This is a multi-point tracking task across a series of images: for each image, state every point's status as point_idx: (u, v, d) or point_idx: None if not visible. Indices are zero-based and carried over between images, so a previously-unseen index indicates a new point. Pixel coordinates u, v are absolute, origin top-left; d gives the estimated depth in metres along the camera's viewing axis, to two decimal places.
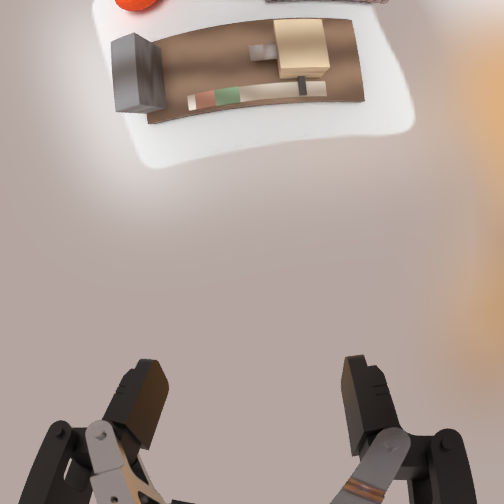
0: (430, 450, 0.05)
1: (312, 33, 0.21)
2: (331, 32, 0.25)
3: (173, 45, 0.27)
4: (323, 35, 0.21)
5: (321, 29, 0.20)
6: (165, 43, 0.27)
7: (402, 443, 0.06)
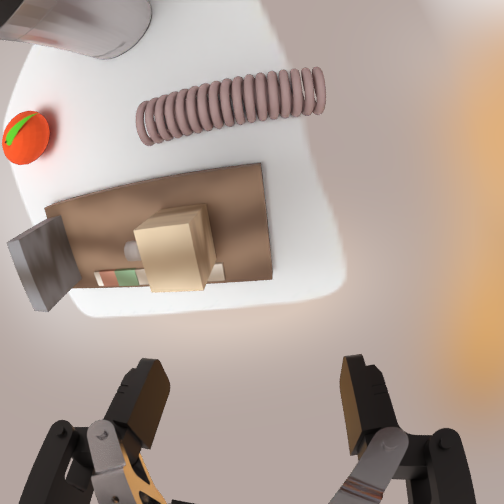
0: (428, 450, 0.05)
1: (179, 247, 0.22)
2: (230, 192, 0.26)
3: (70, 213, 0.28)
4: (192, 249, 0.22)
5: (189, 240, 0.21)
6: (63, 209, 0.28)
7: (400, 442, 0.06)
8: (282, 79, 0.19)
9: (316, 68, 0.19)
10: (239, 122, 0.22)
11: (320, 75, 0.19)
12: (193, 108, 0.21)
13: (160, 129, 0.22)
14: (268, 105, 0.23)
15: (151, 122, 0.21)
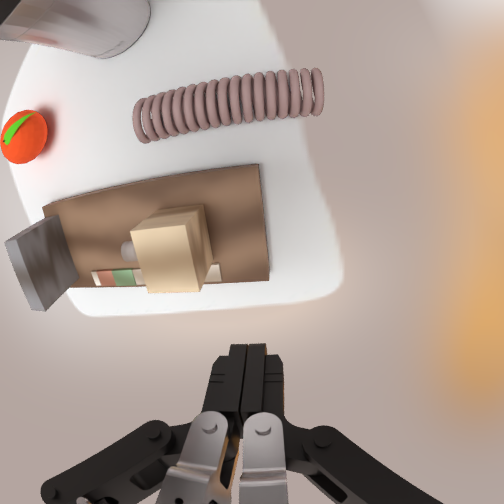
0: (307, 454, 0.06)
1: (175, 248, 0.22)
2: (227, 193, 0.26)
3: (67, 212, 0.28)
4: (188, 250, 0.22)
5: (185, 241, 0.21)
6: (60, 209, 0.28)
7: (272, 429, 0.07)
8: (280, 79, 0.19)
9: (315, 69, 0.19)
10: (236, 122, 0.22)
11: (319, 76, 0.19)
12: (190, 106, 0.20)
13: (156, 127, 0.21)
14: (266, 105, 0.23)
15: (148, 119, 0.21)
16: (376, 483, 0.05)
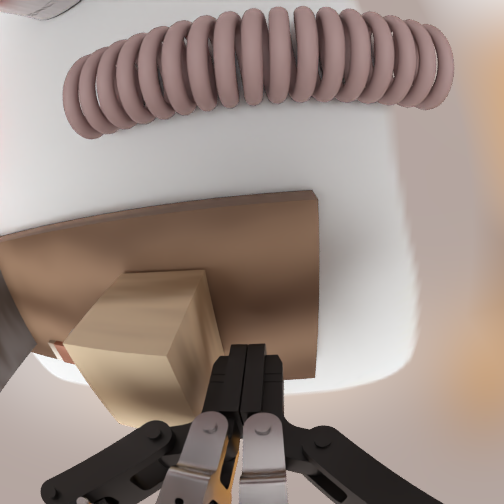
0: (307, 454, 0.06)
1: (153, 387, 0.09)
2: (255, 250, 0.13)
3: (5, 260, 0.15)
4: (180, 394, 0.09)
5: (172, 382, 0.09)
6: None
7: (272, 430, 0.07)
8: (379, 23, 0.07)
9: (430, 25, 0.07)
10: (277, 96, 0.10)
11: (444, 37, 0.06)
12: (176, 56, 0.08)
13: (104, 104, 0.09)
14: None
15: (89, 89, 0.08)
16: (376, 483, 0.05)
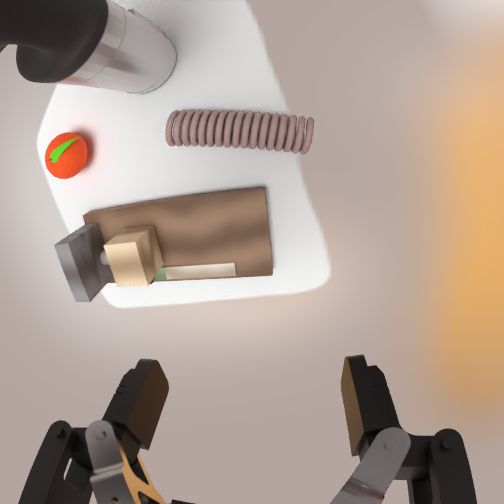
0: (430, 450, 0.05)
1: (131, 257, 0.32)
2: (241, 209, 0.35)
3: (107, 221, 0.37)
4: (139, 258, 0.32)
5: (136, 252, 0.31)
6: (101, 218, 0.37)
7: (402, 443, 0.06)
8: (282, 124, 0.28)
9: (310, 119, 0.28)
10: (242, 147, 0.31)
11: (311, 126, 0.28)
12: (212, 129, 0.29)
13: (183, 137, 0.29)
14: (267, 137, 0.32)
15: (178, 130, 0.29)
16: (460, 501, 0.03)
